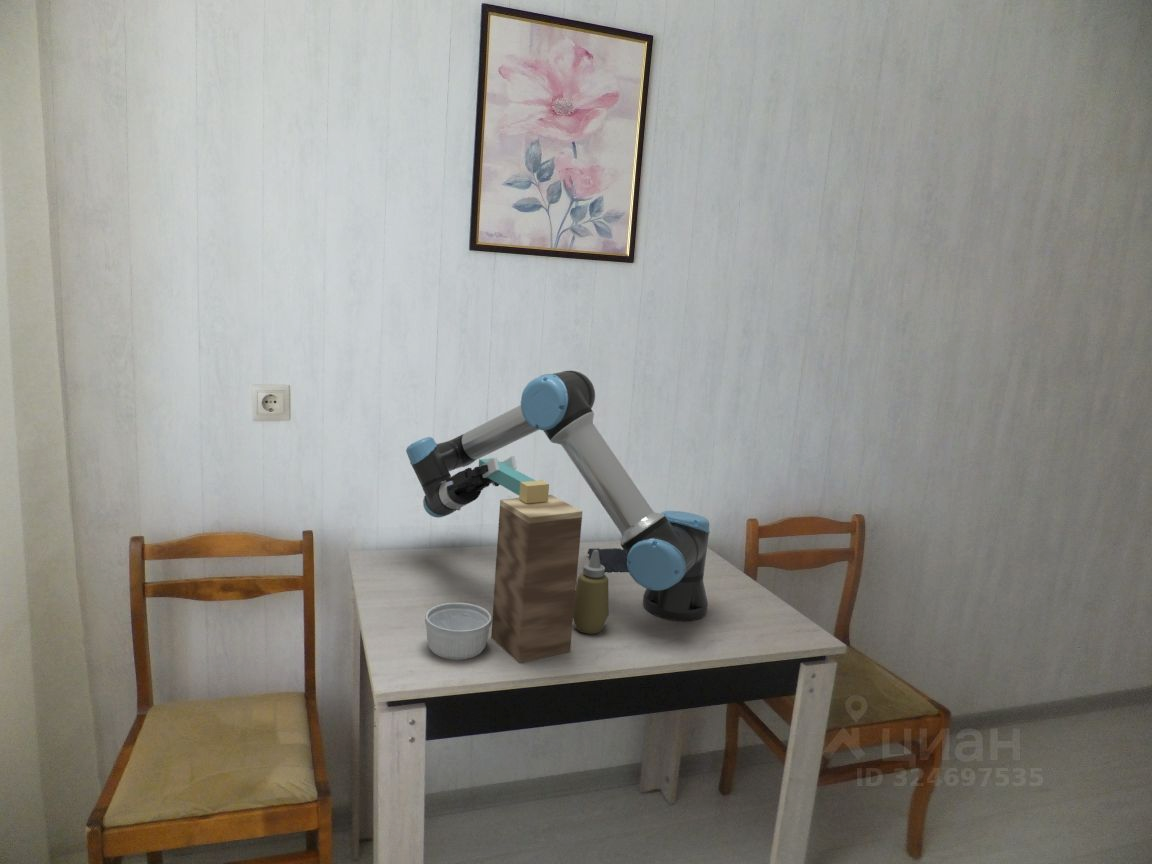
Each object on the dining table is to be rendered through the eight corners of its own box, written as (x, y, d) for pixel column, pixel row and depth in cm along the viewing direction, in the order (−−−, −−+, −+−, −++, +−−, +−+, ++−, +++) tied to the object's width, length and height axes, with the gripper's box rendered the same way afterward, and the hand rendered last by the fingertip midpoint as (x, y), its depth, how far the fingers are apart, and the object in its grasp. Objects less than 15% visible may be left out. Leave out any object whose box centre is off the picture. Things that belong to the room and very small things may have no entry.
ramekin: (496, 660, 165) (498, 627, 164) (429, 666, 161) (431, 632, 160) (481, 631, 178) (483, 600, 176) (418, 635, 173) (420, 604, 172)
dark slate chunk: (581, 554, 230) (583, 537, 229) (656, 552, 236) (658, 536, 235) (598, 575, 215) (600, 557, 214) (677, 573, 222) (679, 556, 221)
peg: (475, 473, 186) (476, 458, 185) (495, 472, 188) (496, 456, 188) (526, 503, 167) (527, 486, 166) (547, 501, 170) (549, 484, 169)
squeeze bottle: (570, 619, 187) (577, 542, 183) (607, 622, 187) (614, 546, 183) (569, 635, 179) (576, 555, 175) (607, 638, 179) (614, 559, 175)
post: (491, 637, 175) (500, 499, 169) (540, 627, 181) (551, 494, 175) (519, 662, 165) (529, 517, 159) (570, 651, 172) (582, 511, 165)
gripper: (494, 502, 201) (541, 477, 183) (430, 508, 192) (473, 483, 174) (489, 472, 203) (535, 444, 184) (425, 476, 194) (467, 448, 175)
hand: (505, 463), depth 179 cm, fingers closed on peg, 4 cm apart
